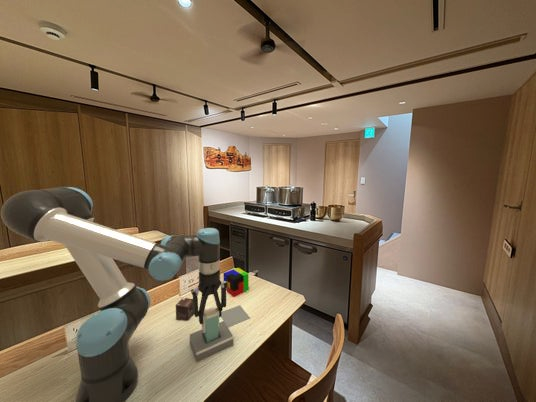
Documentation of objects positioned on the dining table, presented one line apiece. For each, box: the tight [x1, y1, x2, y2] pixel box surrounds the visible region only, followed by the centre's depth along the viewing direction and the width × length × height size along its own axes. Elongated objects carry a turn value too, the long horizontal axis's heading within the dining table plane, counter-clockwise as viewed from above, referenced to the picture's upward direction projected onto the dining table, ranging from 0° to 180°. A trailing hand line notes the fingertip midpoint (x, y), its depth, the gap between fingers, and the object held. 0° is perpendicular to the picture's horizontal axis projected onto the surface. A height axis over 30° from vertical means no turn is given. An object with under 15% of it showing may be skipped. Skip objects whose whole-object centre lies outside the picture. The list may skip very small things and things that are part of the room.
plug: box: [203, 306, 219, 344], centre depth 81 cm, size 4×4×12 cm
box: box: [175, 297, 195, 322], centre depth 97 cm, size 6×6×7 cm
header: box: [189, 320, 235, 362], centre depth 82 cm, size 14×10×4 cm
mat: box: [220, 305, 251, 328], centre depth 98 cm, size 11×11×1 cm
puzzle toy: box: [223, 267, 250, 298], centre depth 120 cm, size 10×10×10 cm
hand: (210, 327), depth 81 cm, fingers closed on plug, 4 cm apart
